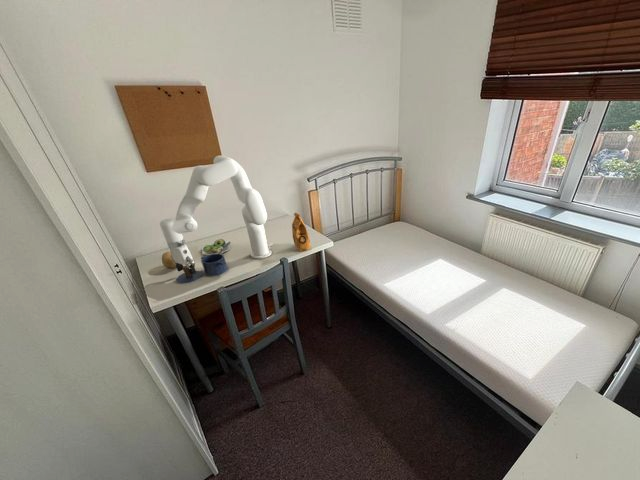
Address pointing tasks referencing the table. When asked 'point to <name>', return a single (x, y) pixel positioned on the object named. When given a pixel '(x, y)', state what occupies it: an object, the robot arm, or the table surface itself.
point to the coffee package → (300, 234)
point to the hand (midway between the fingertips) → (187, 272)
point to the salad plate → (216, 247)
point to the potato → (168, 260)
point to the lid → (188, 276)
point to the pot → (214, 264)
